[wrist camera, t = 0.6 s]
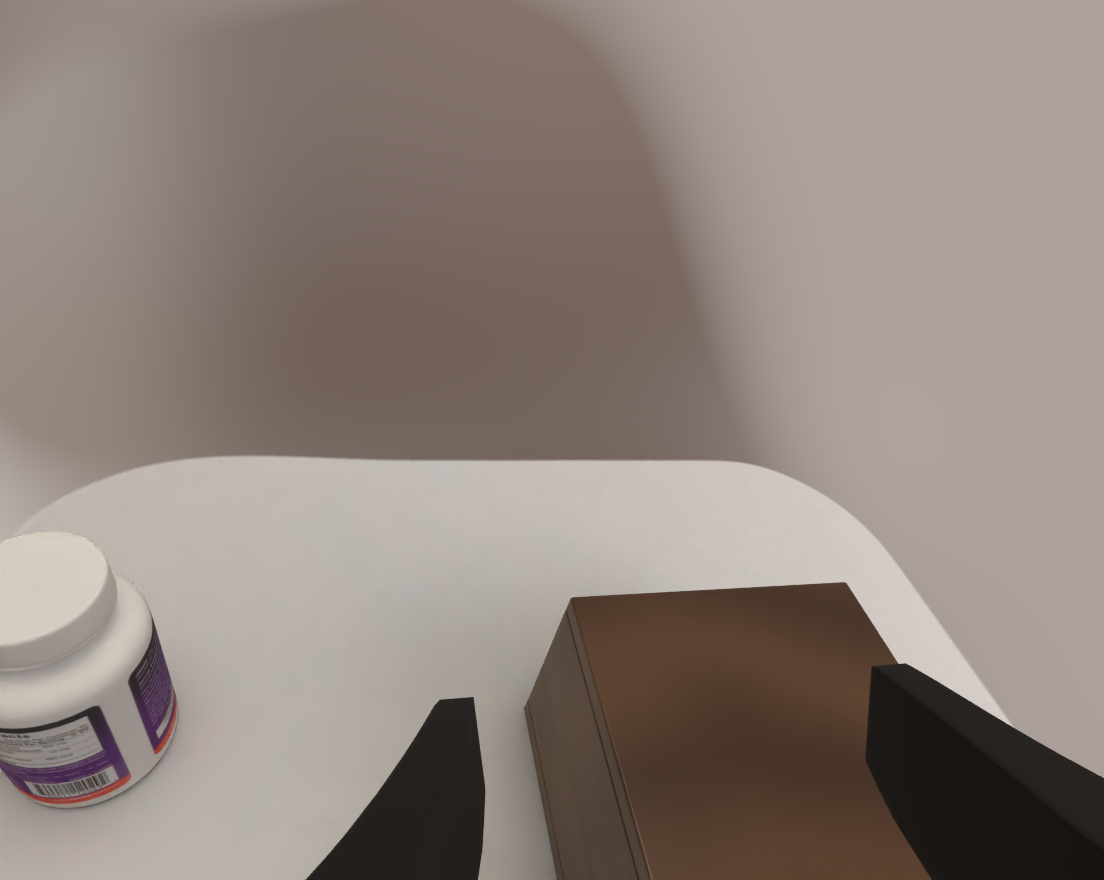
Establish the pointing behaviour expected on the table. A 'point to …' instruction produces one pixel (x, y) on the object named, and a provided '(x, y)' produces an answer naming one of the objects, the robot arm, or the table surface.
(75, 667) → the pill bottle
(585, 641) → the cabinet
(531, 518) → the table surface
